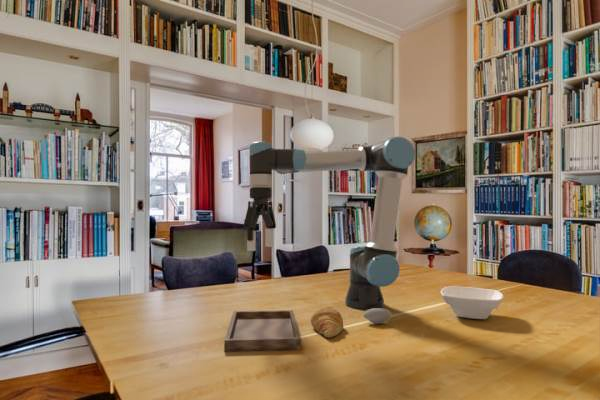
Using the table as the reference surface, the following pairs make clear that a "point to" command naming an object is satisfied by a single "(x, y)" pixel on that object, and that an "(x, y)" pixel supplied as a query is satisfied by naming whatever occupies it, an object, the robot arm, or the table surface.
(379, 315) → the stone
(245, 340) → the tray
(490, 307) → the bowl
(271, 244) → the robot arm
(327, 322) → the croissant
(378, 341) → the table surface
